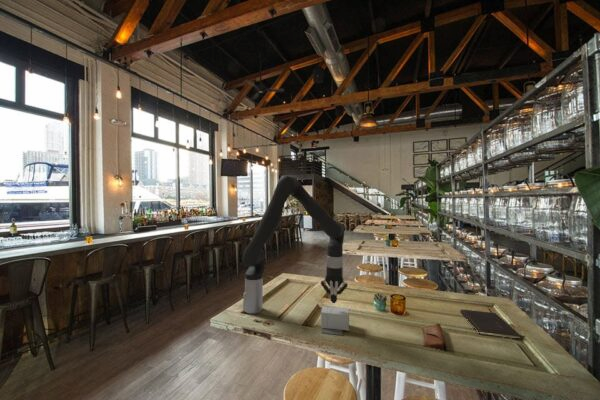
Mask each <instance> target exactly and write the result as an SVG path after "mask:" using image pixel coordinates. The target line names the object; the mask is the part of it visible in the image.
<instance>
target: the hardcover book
mask: <svg viewBox="0 0 600 400" xmlns="http://www.w3.org/2000/svg"><path fill="white" fill-rule="evenodd" d="M459 312H460V314H461V315H462V316H463V317H464V318H466V319H468V321H469V322H470V323H471V324H472V325H473V326H474V327H475V328H476V329H477V330H478V332H484V333H493V334H499V335H503V336H508V337H519V338H521V334H519V332H517V331H516V330H515V329H513V328H512V327H511V326H510V324H508V323H507V322H506V321H505V320H503V318H502V317H500V316H499V315H498V314H497V313H496V312H490V311H489V312H488V311H481V310H472V309H471V310H470V309H460V311H459ZM466 319H465V320H466ZM468 321H467V322H468ZM469 322H468V323H469ZM470 323H469V324H470Z"/></svg>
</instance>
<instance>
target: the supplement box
mask: <svg viewBox="0 0 600 400" xmlns="http://www.w3.org/2000/svg"><path fill="white" fill-rule="evenodd" d="M320 328H321V329H323V328H328V329H338V330H343V331H350V308H348V307H336V306H323V305H322V308H321V311H320Z"/></svg>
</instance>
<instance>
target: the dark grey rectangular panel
mask: <svg viewBox="0 0 600 400" xmlns="http://www.w3.org/2000/svg"><path fill="white" fill-rule="evenodd" d="M343 332H344V330H338V329H328V328H322V330H321V334H324V333H327V334H328V335H332V334H336V335H335V336H341V335H342V336H343V334H344V333H343ZM327 334H326V335H327Z"/></svg>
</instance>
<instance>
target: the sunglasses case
mask: <svg viewBox="0 0 600 400" xmlns="http://www.w3.org/2000/svg"><path fill="white" fill-rule="evenodd" d="M421 329H423V330H422V332H423V347H424V348H429V347H430V349H433V348H435V349H434V350H438V349H440V350H439V351H442V350H445V351H444V352H446V351H447V349H448V348H447V343H446V339H445V335H444V331H443V329H442V326H441V324H440V323H438V322H437V323H435V324H432V325H427V326H422V327H421Z"/></svg>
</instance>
